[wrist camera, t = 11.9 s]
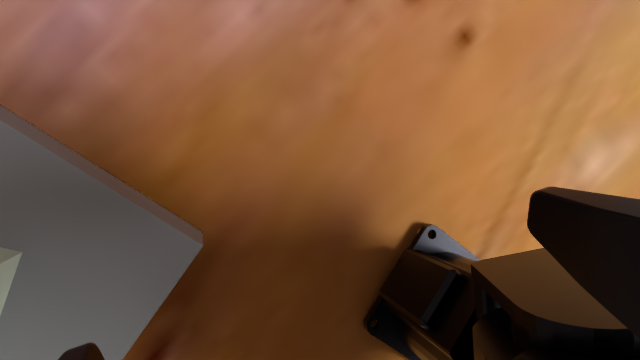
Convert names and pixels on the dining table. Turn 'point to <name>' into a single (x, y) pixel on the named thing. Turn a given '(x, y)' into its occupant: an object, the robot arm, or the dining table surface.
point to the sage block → (7, 272)
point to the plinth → (80, 250)
